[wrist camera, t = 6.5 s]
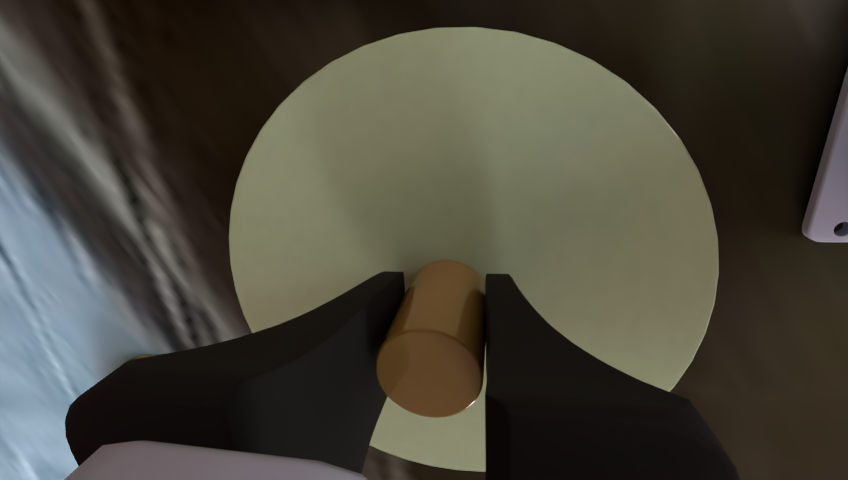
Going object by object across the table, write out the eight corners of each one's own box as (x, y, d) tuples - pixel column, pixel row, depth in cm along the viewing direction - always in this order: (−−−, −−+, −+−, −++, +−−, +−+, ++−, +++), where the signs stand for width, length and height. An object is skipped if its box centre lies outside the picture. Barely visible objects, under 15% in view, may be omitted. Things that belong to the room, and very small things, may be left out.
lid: (750, 5, 9) (984, -73, 5) (659, 464, 14) (731, 633, 10) (204, 55, 12) (28, 37, 7) (290, 426, 17) (215, 546, 12)
